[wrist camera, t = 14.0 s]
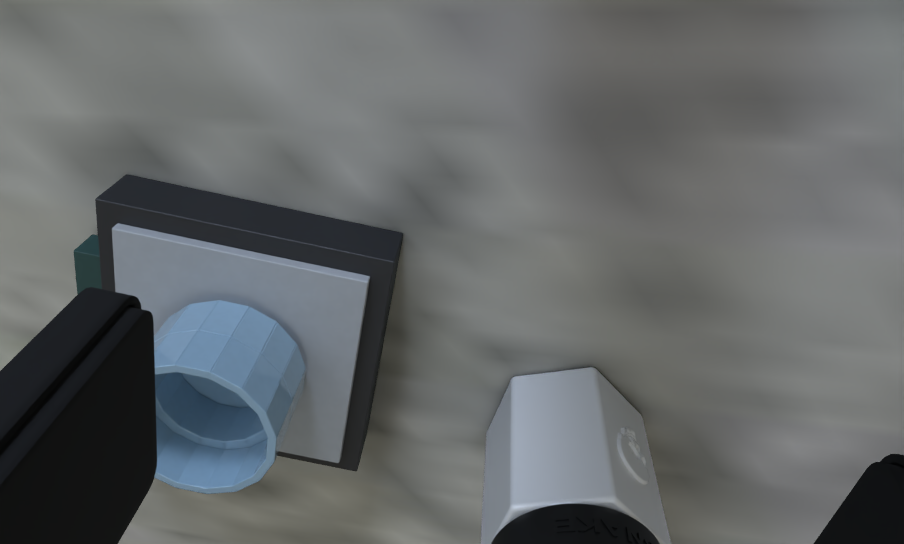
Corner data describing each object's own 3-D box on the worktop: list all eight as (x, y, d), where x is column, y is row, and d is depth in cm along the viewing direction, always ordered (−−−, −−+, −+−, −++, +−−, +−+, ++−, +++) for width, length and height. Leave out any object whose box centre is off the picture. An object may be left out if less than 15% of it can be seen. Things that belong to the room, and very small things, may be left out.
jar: (668, 435, 40) (720, 631, 30) (555, 496, 44) (568, 692, 33) (571, 336, 37) (593, 517, 27) (459, 409, 41) (439, 595, 30)
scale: (93, 167, 35) (52, 196, 32) (403, 232, 35) (392, 268, 32) (109, 382, 42) (76, 424, 39) (366, 434, 42) (354, 480, 39)
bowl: (161, 280, 33) (102, 349, 29) (314, 312, 34) (281, 386, 29) (163, 397, 37) (112, 475, 32) (301, 425, 37) (270, 507, 33)
